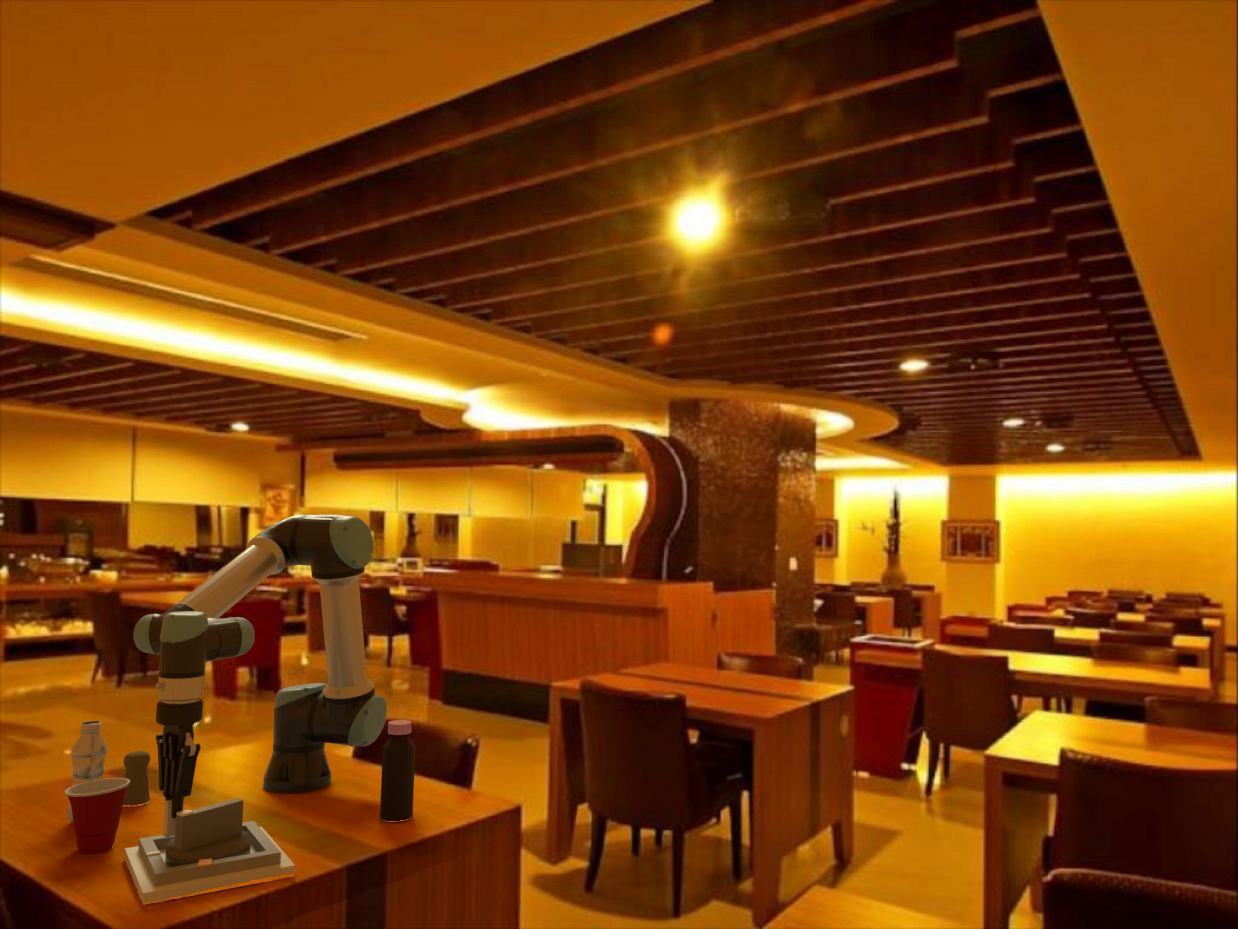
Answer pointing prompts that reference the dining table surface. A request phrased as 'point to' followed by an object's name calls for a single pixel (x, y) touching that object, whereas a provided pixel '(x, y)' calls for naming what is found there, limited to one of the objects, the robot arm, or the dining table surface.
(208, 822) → the oval knob with handle
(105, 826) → the plastic cup
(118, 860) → the dining table surface
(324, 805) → the dining table surface
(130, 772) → the cork
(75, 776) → the plastic bottle
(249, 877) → the panel
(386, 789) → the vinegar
